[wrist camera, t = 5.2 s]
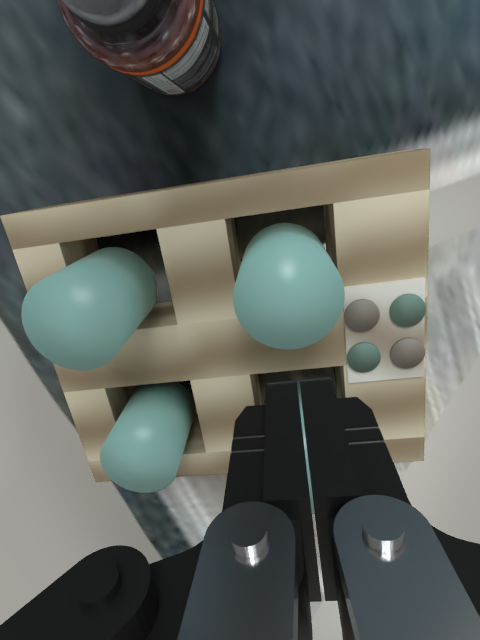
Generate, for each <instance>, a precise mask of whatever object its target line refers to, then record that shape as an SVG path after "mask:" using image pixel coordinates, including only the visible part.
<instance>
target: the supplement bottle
mask: <svg viewBox="0 0 480 640" xmlns="http://www.w3.org/2000/svg"><path fill="white" fill-rule="evenodd" d="M58 4H59V8H60V11H61V13H62V15H63V17H64V20H65V22H66V24H67V26H68V27H69V29H70V30H71V32H72V34H73V35H74V36H75V38H76V39H77V41H78V42H79V43H80V44H81V45H82V47H83V48H84V49H86V51H87V52H88V53H89V54H90V55H92V56H93V57H94V58H96V59H97V60H99V61H100V62H102V63H104V64H105V65H107V66H109V67H111V68H112V69H113V70H115V71H117V72H119V73H121V74H123V75H125V76H127V77H128V78H130V79H132V80H134V81H136V82H138V83H140V84H142V85H143V86H145V87H147V88H149V89H150V90H152V91H153V92H157V93H160V94H165V95H183V94H186V93H189V92H192V91H194V90H196V89H197V88H199V87H200V86H201V85H202V84H203V83H204V82H205V81H206V80H207V79H208V78H209V77H210V75H211V74H212V72H213V70H214V68H215V66H216V64H217V61H218V58H219V55H220V48H221V28H220V22H219V17H218V14H217V10H216V7H215V4H214V2H213V0H58Z"/></svg>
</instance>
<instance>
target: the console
mask: <svg viewBox="0 0 480 640" xmlns="http://www.w3.org/2000/svg"><path fill="white" fill-rule="evenodd" d="M429 194H430V149H415V150H401V151H394V152H388V153H382V154H375V155H369V156H363V157H356V158H350V159H344V160H337V161H331V162H325V163H318V164H312V165H305V166H299V167H293V168H286V169H280V170H274V171H267V172H261V173H255V174H248V175H242V176H236V177H229V178H223V179H217V180H210V181H204V182H198V183H191V184H185V185H179V186H172V187H166V188H160V189H153V190H147V191H141V192H134V193H128V194H122V195H115V196H109V197H102V198H96V199H90V200H83V201H77V202H71V203H64V204H58V205H52V206H45V207H41V208H36V209H31V210H26V211H22V212H17V213H12V214H7V215H3V216H0V217H1V220H2V222H3V225H4V228H5V231H6V234H7V236H8V239H9V242H10V245H11V247H12V250H13V253H14V256H15V259H16V261H17V264H18V267H19V270H20V272H21V275H22V278H23V281H24V284H25V286H26V289H27V292H28V291H29V290H30V289H31V287H32V286H33V285H35V284H36V283H37V282H38V281H40V280H42V279H44V278H46V277H48V276H50V275H52V274H53V273H55V272H57V271H59V270H61V269H63V268H65V267H67V266H69V265H71V264H72V263H74V262H76V261H78V260H80V259H82V258H84V257H86V256H88V255H90V254H91V253H93V252H95V251H97V250H99V247H98V243H97V240H96V238H97V237H104V236H111V235H118V234H125V233H132V232H139V231H145V230H152V229H156V230H157V235H158V239H159V244H160V248H161V252H162V257H163V261H164V266H165V270H166V275H167V279H168V284H169V288H170V293H171V297H172V302H164V303H155V305H154V307H153V308H152V310H151V311H150V312H149V314H148V315H147V316H146V317H145V319H144V320H143V321H142V322H141V324H140V325H139V326H138V327H137V329H136V330H135V331H134V333H133V334H132V335H131V336H130V338H129V339H128V340H127V341H126V343H125V344H124V345H123V346H122V348H121V349H120V350H119V351H118V353H117V354H116V355H115V356H114V358H113V359H112V360H110V361H109V362H108V363H106V364H105V365H103V366H101V367H99V368H96V369H92V370H82V371H80V370H72V369H67V368H64V367H61V366H59V365H57V364H55V363H53V364H54V367H55V370H56V373H57V375H58V378H59V381H60V384H61V387H62V389H63V392H64V395H65V398H66V401H67V403H68V406H69V409H70V412H71V414H72V417H73V420H74V423H75V426H76V428H77V431H78V434H79V437H80V439H81V442H82V445H83V448H84V451H85V453H86V456H87V459H88V462H89V464H90V467H91V470H92V473H93V475H94V478H95V481H96V482H103V481H112V480H111V479H110V478H109V477H108V476H107V474H106V473H105V472H104V470H103V468H102V466H101V462H100V451H101V447H102V445H103V443H104V442H105V440H106V438H107V437H108V435H109V433H110V432H111V430H112V428H113V426H114V425H115V423H116V421H117V420H118V418H119V416H120V415H121V413H122V411H123V410H124V408H125V406H126V404H127V403H128V401H129V399H130V398H131V396H132V394H133V393H134V391H135V389H136V388H137V387H138V386H137V385H145V384H156V383H166V382H177V381H187V380H190V382H191V387H192V391H193V396H194V400H195V405H196V409H197V413H196V414H195V415H194V418H193V421H192V425H191V428H190V431H189V435H188V438H187V441H186V445H185V448H184V451H183V455H182V458H181V461H180V465H179V468H178V471H177V474H176V477H181V476H196V475H212V474H227V473H228V468H229V461H230V454H231V447H232V440H233V432H234V425H235V420H236V419H237V417H238V416H239V415H240V413H241V412H242V411H243V409H244V408H245V407H246V406H255V405H262V398H261V391H260V385H259V378H258V374H260V373H271V372H281V371H292V370H302V369H313V368H323V367H334V366H335V377H336V391H337V398H348V397H358V398H359V399H360V400H361V401H363V402H364V403H365V404H366V405H367V406H369V407H370V408H371V409H372V411H373V413H374V416H375V418H376V421H377V423H378V427H379V429H380V431H381V433H382V436H383V438H384V443H386V446H387V448H388V450H389V453H390V455H391V458H392V460H393V463H396V462H411V461H424V429H425V382H426V335H427V288H428V241H429V236H428V235H429ZM318 205H323V210H324V224H325V238H326V251H327V253H328V255H329V257H330V258H331V260H332V262H333V263H334V265H335V267H336V268H337V270H338V272H339V274H340V276H341V278H342V281H343V285H344V291H345V301H344V307H343V311H342V314H341V316H340V318H339V320H338V322H337V323H336V325H335V326H334V328H333V329H332V330H331V331H330V332H329V333H328V334H327V335H326V336H325V337H323V338H322V339H321V340H319V341H317V342H316V343H314V344H312V345H309V346H306V347H303V348H298V349H277V348H273V347H270V346H266V345H264V344H262V343H260V342H259V341H257V340H255V339H254V338H253V337H251V336H250V335H249V334H248V333H247V332H246V331H245V330H244V328H243V327H242V326H241V324H240V322H239V320H238V318H237V316H236V313H235V309H234V304H233V292H234V286H235V283H236V279H237V276H238V272H239V269H240V265H241V260H240V253H239V247H238V240H237V233H236V227H235V220H234V218H235V217H242V216H249V215H256V214H263V213H270V212H277V211H284V210H290V209H297V208H304V207H311V206H318Z"/></svg>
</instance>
